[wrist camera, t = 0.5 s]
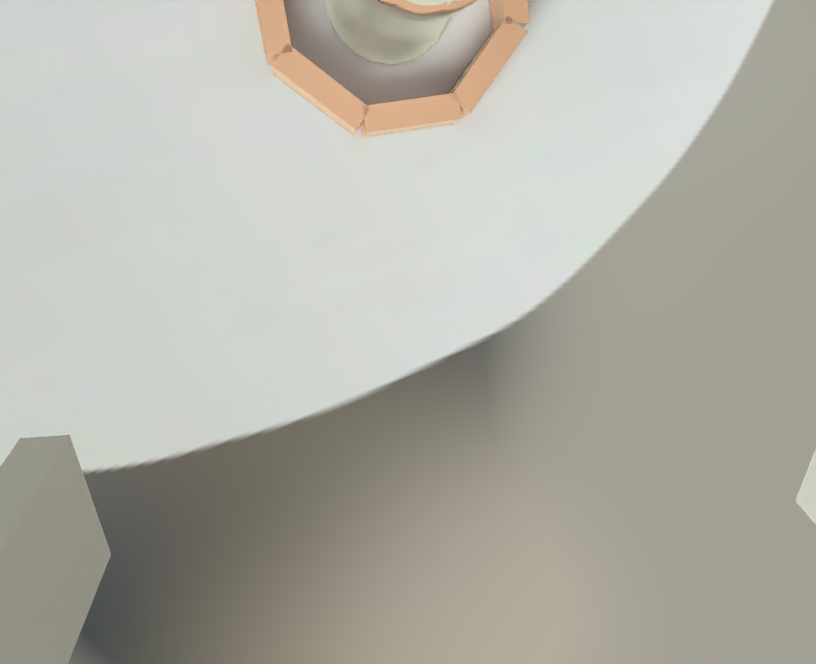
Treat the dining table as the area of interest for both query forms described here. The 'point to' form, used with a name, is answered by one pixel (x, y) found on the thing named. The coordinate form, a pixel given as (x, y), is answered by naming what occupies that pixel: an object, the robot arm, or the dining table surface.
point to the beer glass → (391, 26)
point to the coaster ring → (398, 115)
